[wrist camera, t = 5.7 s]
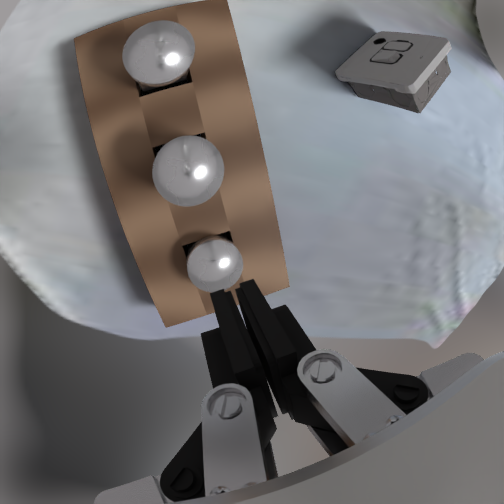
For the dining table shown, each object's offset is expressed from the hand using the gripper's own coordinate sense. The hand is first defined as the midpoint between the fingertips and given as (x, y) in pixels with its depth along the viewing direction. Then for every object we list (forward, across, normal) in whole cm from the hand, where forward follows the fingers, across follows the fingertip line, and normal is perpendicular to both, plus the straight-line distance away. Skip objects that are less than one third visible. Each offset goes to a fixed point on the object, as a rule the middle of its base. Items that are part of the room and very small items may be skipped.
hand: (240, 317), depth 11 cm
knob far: (+16, 0, +4) cm, 16 cm away
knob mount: (+17, 0, -4) cm, 17 cm away
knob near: (+14, 0, -12) cm, 18 cm away
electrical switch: (+17, -21, -10) cm, 29 cm away
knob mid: (+14, 0, -4) cm, 14 cm away
